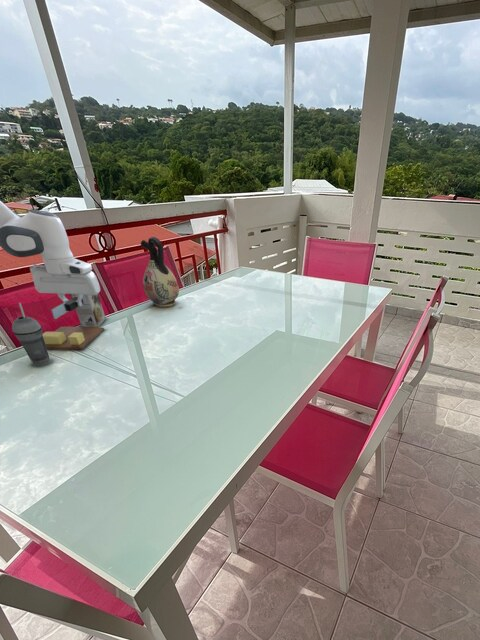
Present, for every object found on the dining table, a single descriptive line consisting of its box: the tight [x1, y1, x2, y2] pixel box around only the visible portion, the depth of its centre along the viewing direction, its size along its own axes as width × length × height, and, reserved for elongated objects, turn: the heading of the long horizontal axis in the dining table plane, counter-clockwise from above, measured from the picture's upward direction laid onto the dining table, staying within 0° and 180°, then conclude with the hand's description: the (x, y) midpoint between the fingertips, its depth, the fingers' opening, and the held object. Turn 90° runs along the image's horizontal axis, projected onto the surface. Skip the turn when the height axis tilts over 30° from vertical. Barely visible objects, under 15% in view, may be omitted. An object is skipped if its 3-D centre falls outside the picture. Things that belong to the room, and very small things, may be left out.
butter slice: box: [68, 332, 85, 345], centre depth 117 cm, size 3×4×3 cm
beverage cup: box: [11, 302, 51, 368], centre depth 102 cm, size 7×7×20 cm
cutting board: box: [46, 326, 105, 351], centre depth 122 cm, size 16×18×1 cm
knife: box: [50, 297, 84, 320], centre depth 115 cm, size 2×17×3 cm, turn 3°
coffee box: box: [70, 293, 106, 327], centre depth 131 cm, size 9×6×16 cm
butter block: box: [43, 331, 66, 344], centre depth 117 cm, size 6×4×3 cm, turn 93°
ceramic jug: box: [140, 236, 180, 308], centre depth 150 cm, size 17×15×30 cm
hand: (74, 305), depth 119 cm, fingers closed on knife, 2 cm apart
